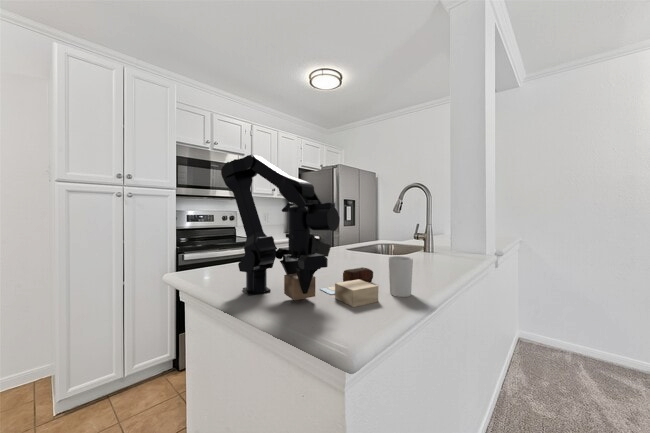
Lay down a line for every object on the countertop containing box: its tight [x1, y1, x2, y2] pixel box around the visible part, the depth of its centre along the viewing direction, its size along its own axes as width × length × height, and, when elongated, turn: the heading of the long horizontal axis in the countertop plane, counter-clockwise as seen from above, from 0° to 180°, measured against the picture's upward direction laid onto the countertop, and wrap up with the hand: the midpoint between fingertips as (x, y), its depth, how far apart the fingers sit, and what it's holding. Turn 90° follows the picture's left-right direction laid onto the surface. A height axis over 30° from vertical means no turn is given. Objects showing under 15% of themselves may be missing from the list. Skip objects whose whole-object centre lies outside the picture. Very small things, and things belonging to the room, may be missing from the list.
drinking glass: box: [388, 255, 414, 298], centre depth 76 cm, size 7×7×10 cm
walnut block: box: [283, 273, 316, 301], centre depth 70 cm, size 6×6×5 cm
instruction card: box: [319, 285, 335, 296], centre depth 80 cm, size 6×9×1 cm, turn 121°
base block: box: [334, 279, 379, 308], centre depth 71 cm, size 8×8×4 cm
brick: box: [342, 267, 374, 283], centre depth 86 cm, size 11×4×5 cm, turn 134°
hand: (299, 290), depth 70 cm, fingers closed on walnut block, 6 cm apart
